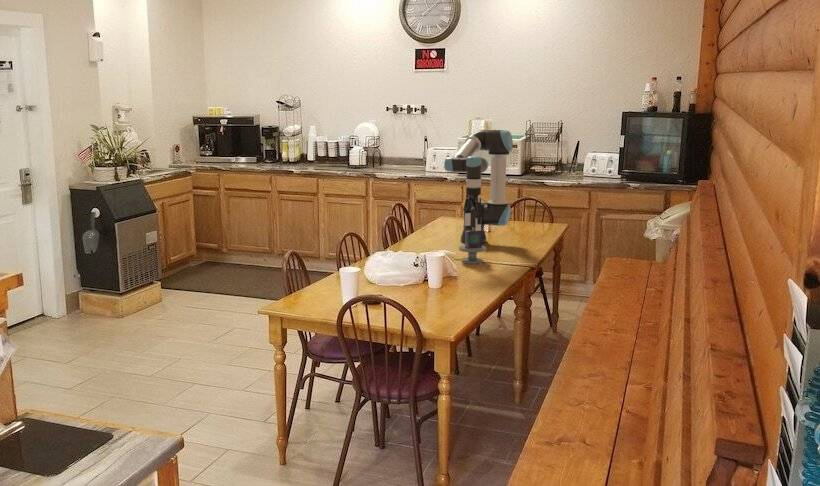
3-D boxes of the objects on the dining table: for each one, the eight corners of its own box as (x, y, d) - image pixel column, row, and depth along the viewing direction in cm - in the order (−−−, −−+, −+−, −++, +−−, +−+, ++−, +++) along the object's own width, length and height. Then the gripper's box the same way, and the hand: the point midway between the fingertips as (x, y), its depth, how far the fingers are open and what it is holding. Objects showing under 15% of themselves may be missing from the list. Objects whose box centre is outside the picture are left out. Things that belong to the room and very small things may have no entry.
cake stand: (479, 257, 390) (479, 243, 388) (490, 263, 377) (490, 249, 376) (454, 259, 386) (454, 245, 384) (464, 265, 373) (465, 251, 371)
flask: (465, 248, 377) (466, 228, 375) (463, 247, 380) (464, 227, 378) (482, 247, 380) (483, 227, 378) (480, 246, 383) (481, 226, 380)
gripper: (457, 184, 383) (457, 224, 388) (476, 190, 360) (475, 233, 365) (470, 183, 386) (470, 223, 390) (490, 190, 363) (489, 232, 367)
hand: (472, 228), depth 378 cm, fingers open, 13 cm apart
